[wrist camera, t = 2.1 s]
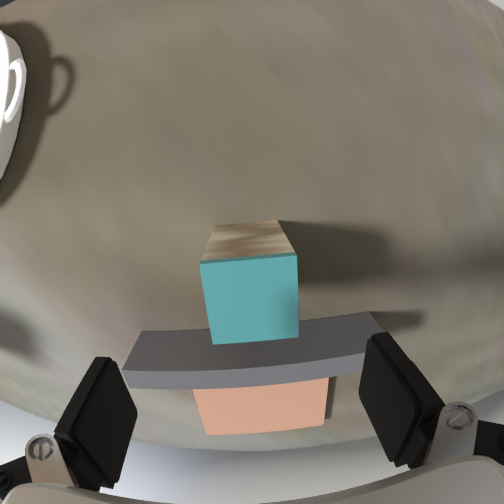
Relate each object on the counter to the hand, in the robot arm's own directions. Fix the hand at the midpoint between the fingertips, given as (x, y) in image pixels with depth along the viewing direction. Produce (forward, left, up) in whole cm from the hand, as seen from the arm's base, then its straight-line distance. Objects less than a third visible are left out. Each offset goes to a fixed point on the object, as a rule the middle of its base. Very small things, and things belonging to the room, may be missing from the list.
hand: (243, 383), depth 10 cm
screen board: (-1, +8, -15) cm, 17 cm away
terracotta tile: (-1, +17, -15) cm, 23 cm away
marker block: (-1, 0, -15) cm, 15 cm away
